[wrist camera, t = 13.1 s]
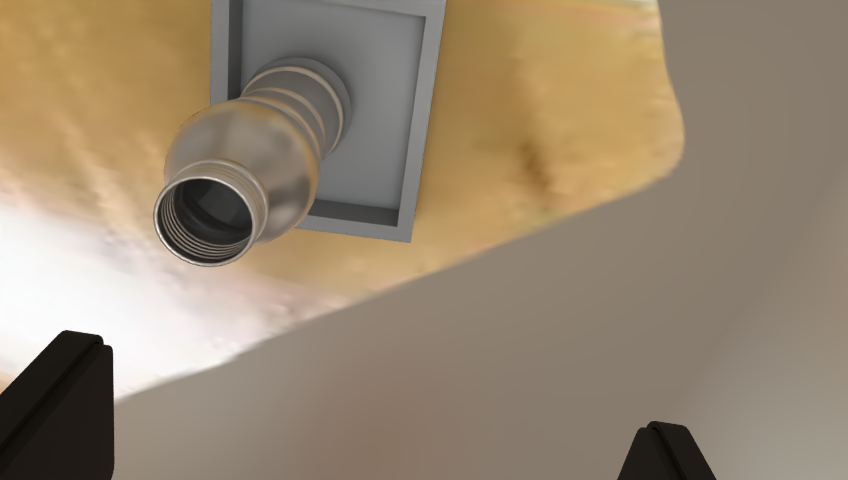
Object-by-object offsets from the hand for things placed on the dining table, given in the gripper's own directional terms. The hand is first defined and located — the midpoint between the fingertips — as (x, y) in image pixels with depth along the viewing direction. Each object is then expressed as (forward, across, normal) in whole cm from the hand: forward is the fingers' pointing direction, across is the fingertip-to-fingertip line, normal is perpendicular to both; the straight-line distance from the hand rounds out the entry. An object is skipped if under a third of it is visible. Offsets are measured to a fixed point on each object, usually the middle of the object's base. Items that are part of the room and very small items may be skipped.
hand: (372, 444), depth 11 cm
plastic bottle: (+32, +7, +2) cm, 33 cm away
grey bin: (+33, +5, +2) cm, 33 cm away
